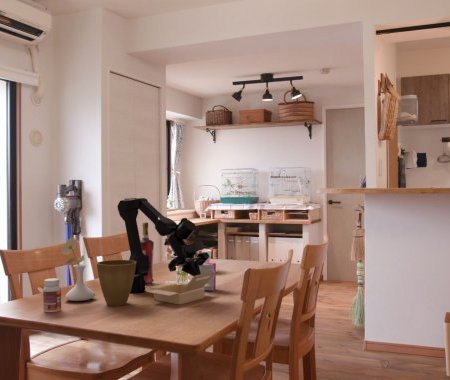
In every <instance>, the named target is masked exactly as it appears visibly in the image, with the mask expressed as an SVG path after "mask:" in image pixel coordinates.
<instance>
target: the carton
mask: <svg viewBox="0 0 450 380" xmlns="http://www.w3.org/2000/svg"><path fill="white" fill-rule="evenodd" d="M189 282H190V281H187V282H181V283H173V282H169V281H168V282H164V283H160V284H154V285H152V286H147V287H146V288H147V289H151V290H146V293H150V294H153V295H154V296H153V301H158V302H162V303H168V304H172V305H173V304H175V305H180V306H181V305H186V304H189V303H192V302H195V301H200V300H202V299H203V300H204V299H205V298H206V297H205V291H204V288H203V287H202V288H198V289H194V290H190V291H186V292H182V290H183V289H184V288H185V286H186V285H187V284H188V283H189ZM207 286H211V285H208V284H205V286H204V287H207Z"/></svg>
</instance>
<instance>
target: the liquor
mask: <svg viewBox="0 0 450 380" xmlns="http://www.w3.org/2000/svg"><path fill="white" fill-rule="evenodd" d="M141 237H142V239H140V242H141V247H142V252H143V253H144V254H145V255H148V256H149V262H150V264H149V265H150V269H149V271H148V275H147V276H144V279H145V285H151V284H152V283H153V282H154V275H153V274H154V270H153V269H154V268H153V267H154V243H155V242H154V241H153V240H151V239H150V238H149V237H150V235H149V222H145V221H144V222H142V236H141Z"/></svg>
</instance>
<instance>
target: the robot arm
mask: <svg viewBox="0 0 450 380" xmlns="http://www.w3.org/2000/svg"><path fill="white" fill-rule="evenodd" d="M117 211H118V213H119V217H120V218H121V219H122V220H123V222H124V225H125V229H126V236H127V241H128V245H129V246H128V247H129V251H130V255H129V259H128V260H132V261H136V269H135V275H134V280H133V284H132V288H131V291H130V294H137V293H145V291H146V284H145V279H144V276H147V275H148V271H149V269H150V265H149V264H150V262H149V256H148V255H145V254H144V253H143V252H142V247H141V242H140V240H141V237H140V232H139V226H138V222H137V218H138V215H139V211H140V212H141V213H142V214H144V216H146V218H147V219H149V221H150V222H151V223H152V224H153V225H154V228H155V230H156V232H157V233H158V234H159V235H160V236H161V237H167V238H165V239H164V244H163V245H164V246H170V247H171V249H172V251H173V252H174V253H173V254H172V255H173V256H174V257H173V259H171V260H170V262H169V263H168V266H167V267H168V270H169V271H170V272H171V273H172V272H174V271H175V272H176V270H177V267H179V266H182V268H181V272H185V273H187V274H188V275H191V277H194V276H196V275H200V274H201V272H200V267H199V266H201V265H203V264H204V263H205V262H206V260H207V259H208V258H209V257H210V256H209V254H208V253H207V252H203V253H199V254H198V255H197V256H196V257H194V256H195V255H196V254H197V253H196V252H198V251H200V250H203V249H205V244H204V242H203V241H202V240H197V241H194V242H192V243H187V242H186V241H185V240H188V239H189V238H190V237H191V235H193V233H194V232H195V231H196V230H197V225H196V224H195V223H194V222H192V221H191V220H189V219H188V218H187V217H183V218H181V219H180V221H179V223H178V224H177V222H176V221H174V220H173V219H171V218H169V217H167V216H164V215H162V213H161V212H159V210H158V209H157V208H155V207H154V206H153V205H152V204H151V203H150V202H149V200H148V198H145V197H136V198H135V199H121V200H119V202H118V204H117Z"/></svg>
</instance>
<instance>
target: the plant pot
mask: <svg viewBox="0 0 450 380" xmlns="http://www.w3.org/2000/svg"><path fill="white" fill-rule="evenodd" d="M96 269H97V274H98V281H99V286H100V288H101V292H102V295H103V298H104V301H105V303H106V305H107V306H112V307H116V306H117V307H121V306H124V305H126V304H127V302H128V300H129V298H130V294H131V293H130V291H131V288H132V284H133V280H134V275H135V269H136V261H132V260H129V259H110V260H101V261H97V262H96Z"/></svg>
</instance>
